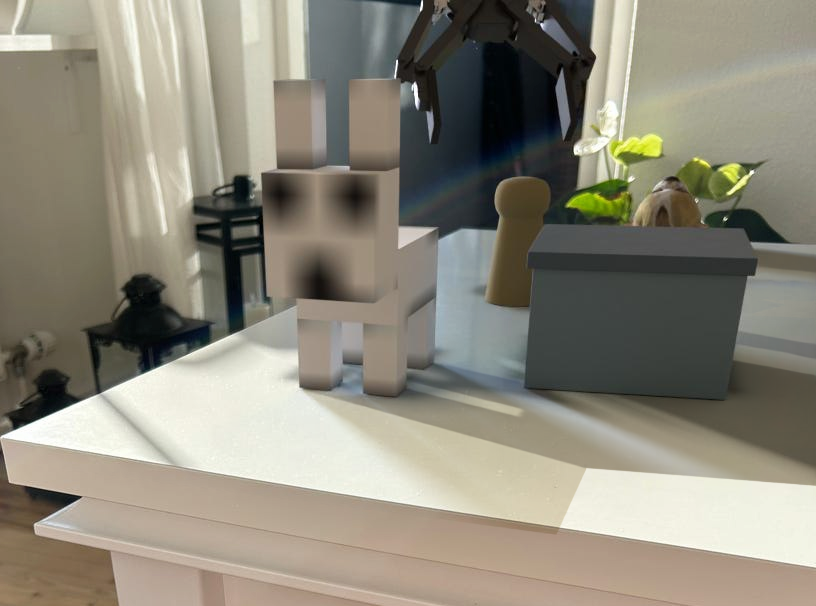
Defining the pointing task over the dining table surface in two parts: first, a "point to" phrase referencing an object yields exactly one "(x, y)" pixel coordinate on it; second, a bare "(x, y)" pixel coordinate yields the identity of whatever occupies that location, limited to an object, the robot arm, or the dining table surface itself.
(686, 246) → the container
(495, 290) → the cork
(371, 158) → the blocky rabbit figurine
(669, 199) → the ceramic sculpture
